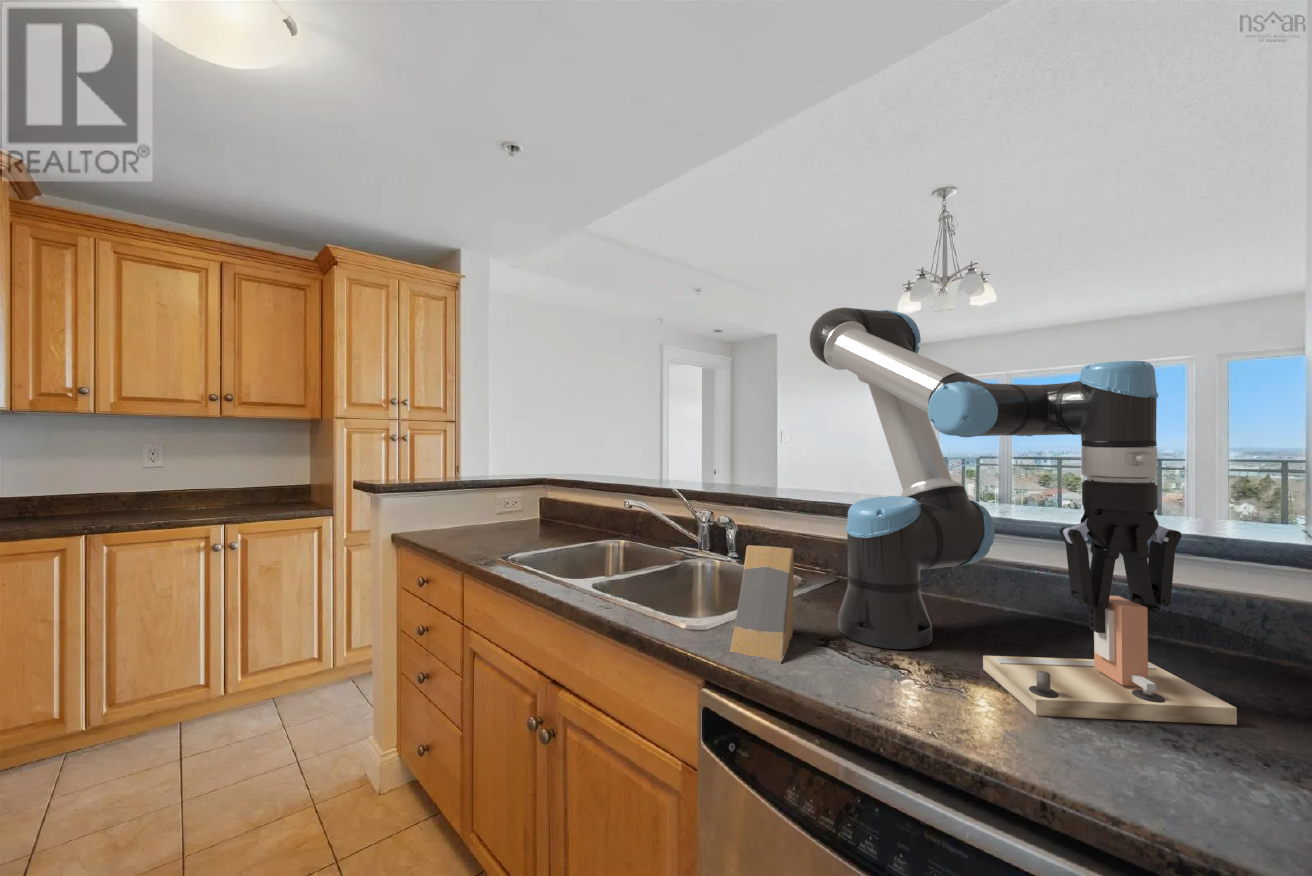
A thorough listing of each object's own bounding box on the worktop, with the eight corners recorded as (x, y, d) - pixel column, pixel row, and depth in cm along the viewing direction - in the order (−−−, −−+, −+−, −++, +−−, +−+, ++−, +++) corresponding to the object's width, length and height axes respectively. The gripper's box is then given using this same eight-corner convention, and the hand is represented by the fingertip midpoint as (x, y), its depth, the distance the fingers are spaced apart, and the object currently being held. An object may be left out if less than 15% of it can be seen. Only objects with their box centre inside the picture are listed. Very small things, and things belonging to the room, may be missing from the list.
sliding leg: (1137, 694, 65) (1136, 613, 65) (1094, 668, 72) (1093, 595, 72) (1164, 695, 64) (1163, 614, 64) (1118, 668, 72) (1117, 595, 72)
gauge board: (1036, 715, 65) (1035, 679, 65) (983, 669, 78) (982, 639, 78) (1236, 724, 62) (1236, 687, 62) (1147, 675, 75) (1147, 644, 75)
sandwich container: (726, 658, 83) (725, 563, 83) (747, 625, 97) (746, 544, 97) (782, 666, 80) (781, 567, 80) (794, 631, 94) (793, 547, 94)
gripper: (1071, 482, 67) (1073, 667, 67) (1213, 481, 65) (1214, 672, 65) (1035, 477, 74) (1037, 643, 74) (1161, 477, 72) (1163, 647, 72)
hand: (1120, 656), depth 69 cm, fingers closed on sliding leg, 3 cm apart
